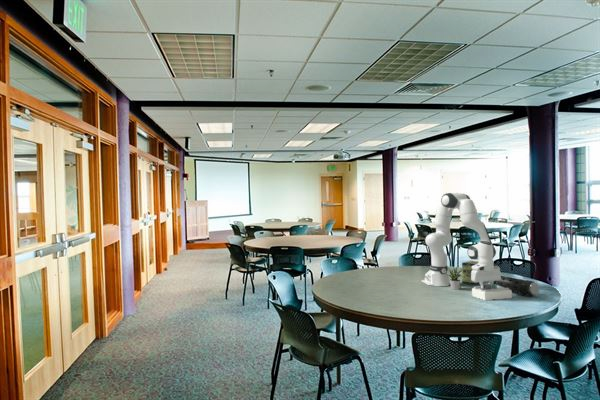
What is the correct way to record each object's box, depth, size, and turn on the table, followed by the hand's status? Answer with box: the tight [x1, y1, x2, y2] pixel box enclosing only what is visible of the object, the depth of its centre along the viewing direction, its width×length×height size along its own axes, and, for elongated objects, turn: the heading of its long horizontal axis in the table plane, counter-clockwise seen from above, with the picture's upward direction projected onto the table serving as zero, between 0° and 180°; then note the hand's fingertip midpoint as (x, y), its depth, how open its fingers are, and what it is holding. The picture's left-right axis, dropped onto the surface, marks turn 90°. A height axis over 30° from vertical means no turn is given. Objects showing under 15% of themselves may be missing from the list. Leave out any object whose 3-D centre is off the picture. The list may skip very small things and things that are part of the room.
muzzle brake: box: [493, 275, 540, 297], centre depth 259 cm, size 10×28×10 cm, turn 25°
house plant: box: [447, 266, 465, 291], centre depth 272 cm, size 14×14×16 cm
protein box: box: [461, 260, 480, 286], centre depth 293 cm, size 10×16×16 cm
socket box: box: [471, 285, 513, 301], centre depth 250 cm, size 12×20×6 cm, turn 104°
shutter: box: [487, 282, 504, 289], centre depth 251 cm, size 7×8×3 cm
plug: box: [482, 282, 491, 290], centre depth 249 cm, size 4×4×6 cm
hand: (486, 287), depth 249 cm, fingers closed on plug, 4 cm apart
